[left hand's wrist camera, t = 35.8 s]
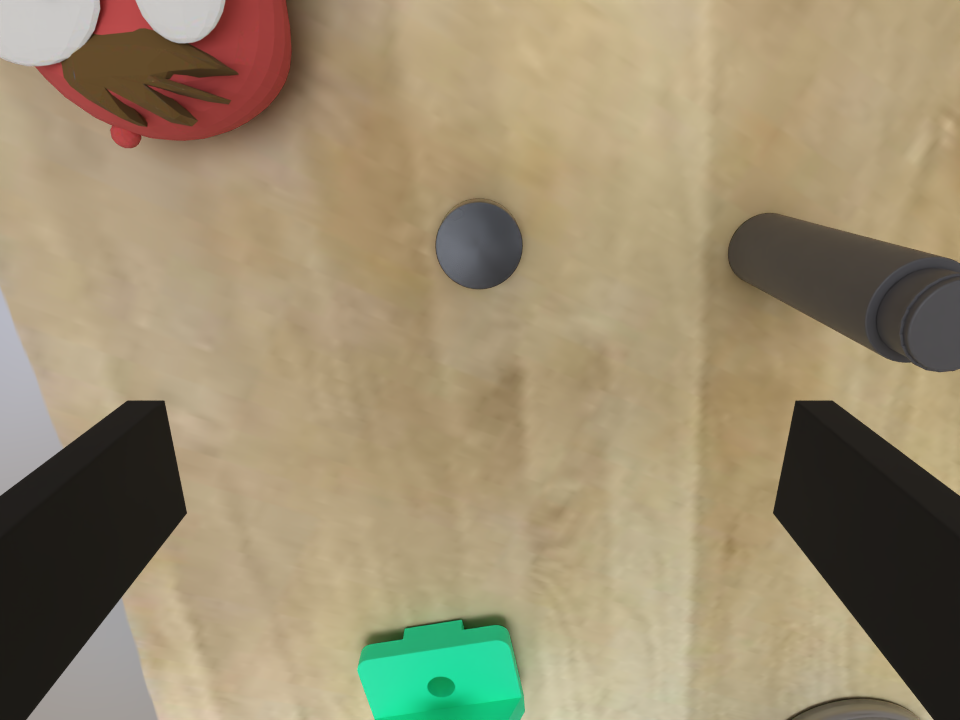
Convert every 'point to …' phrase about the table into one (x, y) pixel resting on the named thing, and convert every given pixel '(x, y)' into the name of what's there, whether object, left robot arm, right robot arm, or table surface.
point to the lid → (479, 244)
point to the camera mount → (443, 675)
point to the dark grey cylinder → (857, 286)
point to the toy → (155, 60)
